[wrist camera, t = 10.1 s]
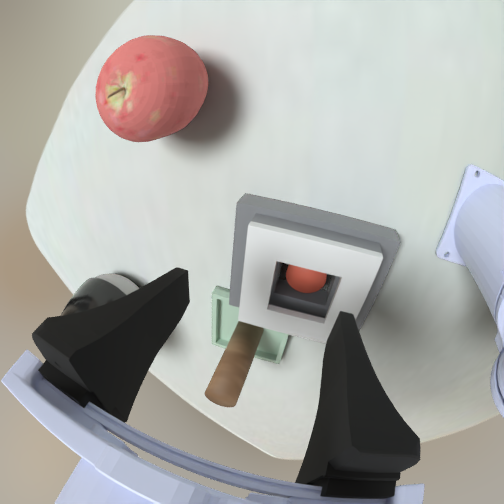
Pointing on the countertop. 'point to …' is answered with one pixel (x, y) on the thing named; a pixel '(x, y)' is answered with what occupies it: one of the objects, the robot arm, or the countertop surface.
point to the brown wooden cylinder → (234, 365)
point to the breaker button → (305, 279)
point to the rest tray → (227, 322)
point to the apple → (151, 88)
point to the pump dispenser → (99, 292)
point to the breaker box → (305, 265)
